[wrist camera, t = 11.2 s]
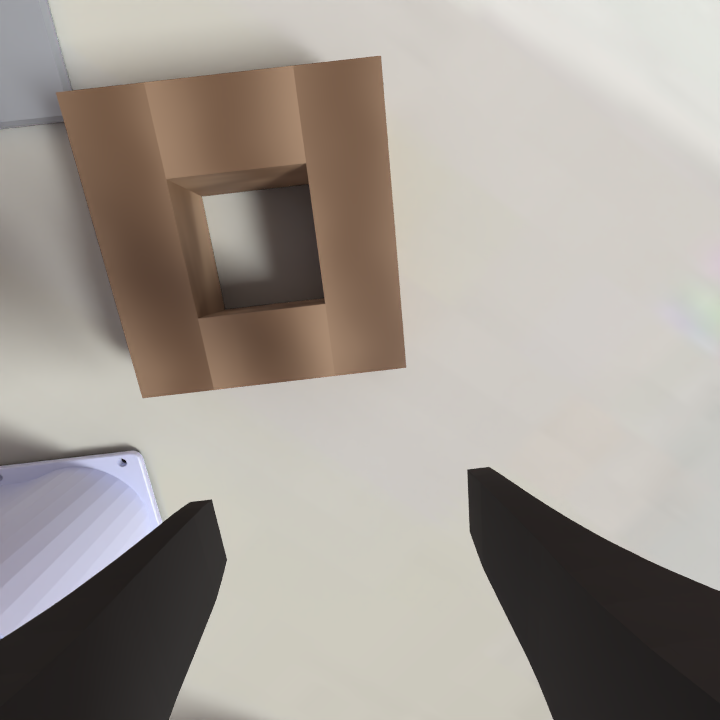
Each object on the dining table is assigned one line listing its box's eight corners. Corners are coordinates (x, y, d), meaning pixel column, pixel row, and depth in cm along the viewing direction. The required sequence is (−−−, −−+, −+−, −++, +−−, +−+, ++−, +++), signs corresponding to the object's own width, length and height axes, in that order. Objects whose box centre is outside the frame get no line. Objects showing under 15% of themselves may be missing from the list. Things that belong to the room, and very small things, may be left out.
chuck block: (178, 375, 19) (142, 398, 16) (115, 128, 16) (55, 92, 13) (395, 350, 20) (406, 367, 16) (374, 99, 16) (380, 55, 13)
